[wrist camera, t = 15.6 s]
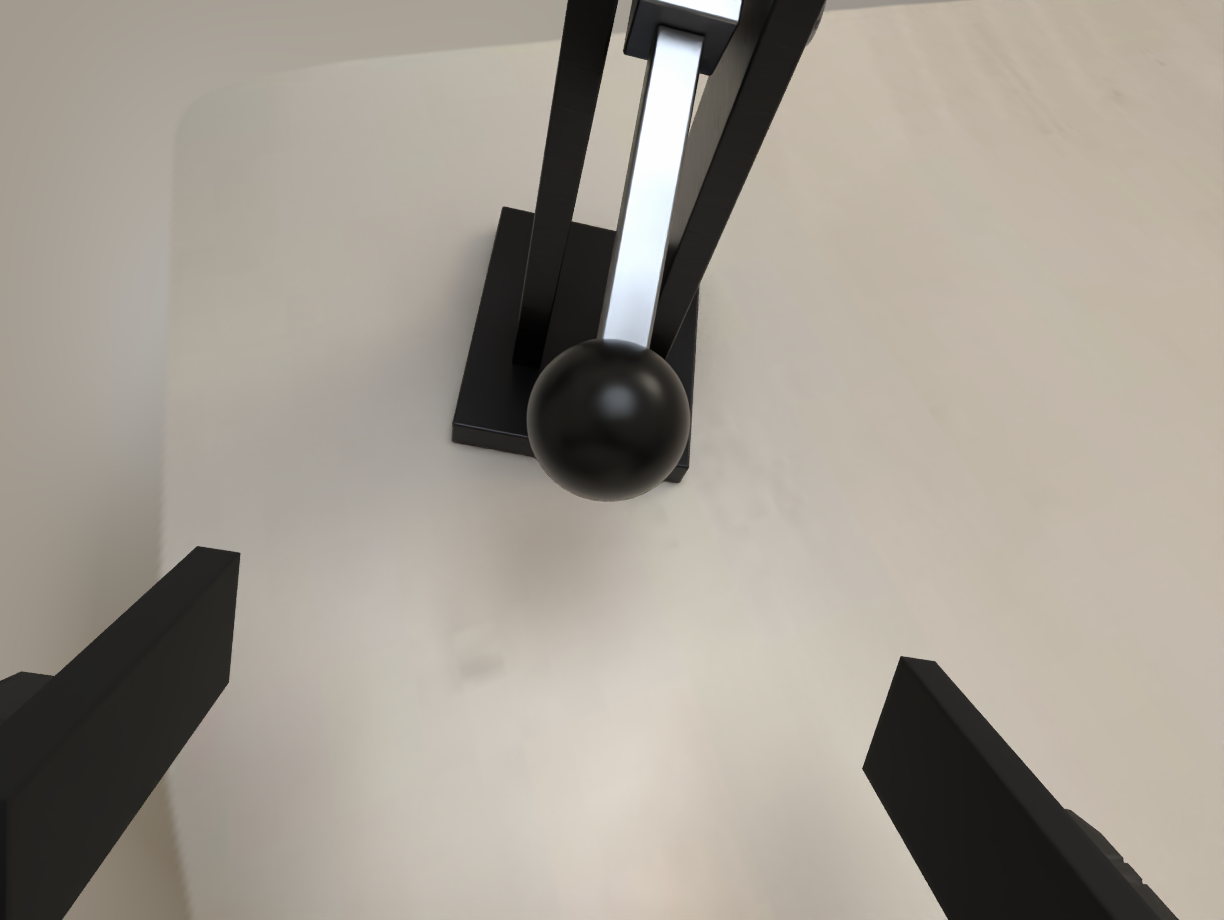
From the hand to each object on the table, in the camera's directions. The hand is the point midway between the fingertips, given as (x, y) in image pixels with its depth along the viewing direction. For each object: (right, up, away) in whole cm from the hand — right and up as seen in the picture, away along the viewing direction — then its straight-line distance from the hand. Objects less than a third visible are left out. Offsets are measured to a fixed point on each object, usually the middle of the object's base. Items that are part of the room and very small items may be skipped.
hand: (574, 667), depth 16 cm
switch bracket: (0, +8, +14) cm, 16 cm away
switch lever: (+1, +10, +4) cm, 10 cm away
